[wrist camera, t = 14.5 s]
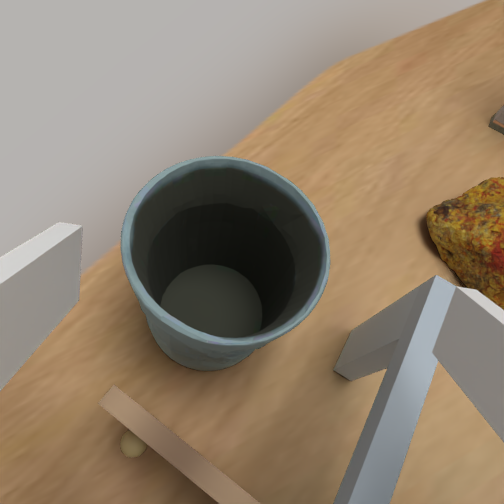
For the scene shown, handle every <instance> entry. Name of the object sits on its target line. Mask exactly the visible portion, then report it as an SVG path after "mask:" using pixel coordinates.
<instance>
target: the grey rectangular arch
mask: <svg viewBox="0 0 504 504" xmlns="http://www.w3.org/2000/svg"><path fill="white" fill-rule="evenodd" d="M455 288H456V286H455V285H453V284H451V283H450V282H448V281H446V280H444V279H443V278H441V277H439V276H438V275H435V276H434V277H432V278H430V279H429V280H427V281H426V282H424V283H423V284H421V285H420V286H418V287H417V288H415V289H414V290H412V291H411V292H409V293H408V294H406V295H405V296H403V297H402V298H400V299H399V300H397V301H395V302H394V303H392V304H391V305H389V306H388V307H386V308H385V309H383V310H382V311H380V312H379V313H377V314H376V315H374V316H373V317H371V318H370V319H368V320H367V321H365V322H364V323H362V324H360V325H359V326H357V327H356V328H354V329H353V330H352V331H351V333H350V335H349V337H348V339H347V341H346V344H345V346H344V348H343V350H342V352H341V354H340V356H339V359H338V361H337V363H336V365H335V367H334V369H333V370H334V371H336V372H337V373H339V374H340V375H342V376H344V377H345V378H347V379H348V380H350V381H353V380H356V379H358V378H361V377H364V376H367V375H369V374H372V373H375V372H378V371H380V370H383V369H386V368H387V371H386V373H385V376H384V378H383V381H382V383H381V386H380V388H379V391H378V393H377V396H376V398H375V401H374V403H373V406H372V408H371V411H370V413H369V416H368V418H367V421H366V423H365V426H364V428H363V431H362V433H361V436H360V438H359V441H358V443H357V446H356V448H355V451H354V453H353V456H352V458H351V460H350V463H349V465H348V468H347V470H346V473H345V475H344V478H343V480H342V483H341V485H340V488H339V490H338V493H337V495H336V498H335V500H334V503H333V504H390V501H391V498H392V495H393V492H394V489H395V486H396V483H397V480H398V477H399V474H400V471H401V468H402V466H403V463H404V460H405V457H406V454H407V451H408V448H409V445H410V442H411V439H412V436H413V433H414V430H415V427H416V424H417V421H418V419H419V416H420V413H421V410H422V407H423V404H424V401H425V398H426V395H427V392H428V389H429V386H430V383H431V380H432V377H433V374H434V372H435V369H436V366H437V363H438V359H437V358H436V357H435V356H434V354H433V353H432V351H433V348H434V345H435V343H436V340H437V337H438V334H439V332H440V329H441V326H442V324H443V321H444V318H445V315H446V313H447V310H448V307H449V305H450V302H451V299H452V296H453V294H454V291H455Z"/></svg>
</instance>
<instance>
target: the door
mask: <svg viewBox="0 0 504 504" xmlns="http://www.w3.org/2000/svg"><path fill="white" fill-rule="evenodd" d="M98 404H99V405H100V406H101V407H103V408H104V409H105V410H106V411H108V412H109V413H110V414H111V415H112V416H114V417H115V418H116V419H117V420H118V421H120V422H121V423H122V424H123V425H125V426H126V427H127V428H128V429H129V430H128V431H127V432H126V433H125V434H124V435H123V436H122V438H121V442H120V448H121V451H122V453H123V454H124V455H125V456H127V457H130V458H135V457H138V456H140V455H141V454H143V453H144V451H145V450H146V448H147V445H149V446H150V447H151V448H152V449H154V450H155V451H156V452H157V453H158V454H160V455H161V456H162V457H163V458H165V459H166V460H167V461H168V462H169V463H171V464H172V465H173V466H174V467H175V468H177V469H178V470H179V471H180V472H182V473H183V474H184V475H185V476H186V477H188V478H189V479H190V480H191V481H192V482H194V483H195V484H196V485H197V486H198V487H200V488H201V489H202V490H203V491H205V492H206V493H207V494H208V495H209V496H211V497H212V498H213V499H214V500H215V501H217V502H218V503H219V504H261V503H260V502H258V501H257V500H256V499H255V498H253V497H252V496H251V495H250V494H248V493H247V492H246V491H245V490H243V489H242V488H241V487H240V486H239V485H237V484H236V483H235V482H234V481H232V480H231V479H230V478H229V477H227V476H226V475H225V474H224V473H223V472H221V471H220V470H219V469H218V468H216V467H215V466H214V465H213V464H211V463H210V462H209V461H208V460H207V459H205V458H204V457H203V456H202V455H200V454H199V453H198V452H197V451H195V450H194V449H193V448H192V447H190V446H189V445H188V444H187V443H186V442H184V441H183V440H182V439H181V438H179V437H178V436H177V435H176V434H174V433H173V432H172V431H171V430H170V429H168V428H167V427H166V426H165V425H163V424H162V423H161V422H160V421H158V420H157V419H156V418H155V417H154V416H152V415H151V414H150V413H149V412H147V411H146V410H145V409H144V408H142V407H141V406H140V405H139V404H138V403H136V402H135V401H134V400H133V399H131V398H130V397H129V396H128V395H126V394H125V393H124V392H123V391H121V390H120V389H119V388H118V387H117V386H115V385H113V386H112V387H111V388H110V390H109V391H108V392H107V393H106V394H105V396H104V397H103V398H102V399H101V400H100V401H99V403H98Z"/></svg>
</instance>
